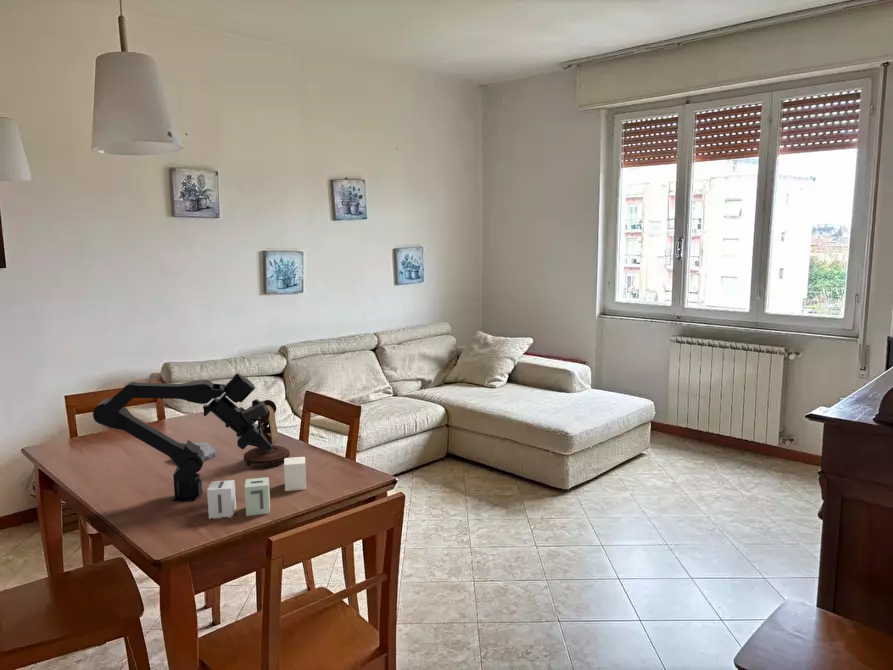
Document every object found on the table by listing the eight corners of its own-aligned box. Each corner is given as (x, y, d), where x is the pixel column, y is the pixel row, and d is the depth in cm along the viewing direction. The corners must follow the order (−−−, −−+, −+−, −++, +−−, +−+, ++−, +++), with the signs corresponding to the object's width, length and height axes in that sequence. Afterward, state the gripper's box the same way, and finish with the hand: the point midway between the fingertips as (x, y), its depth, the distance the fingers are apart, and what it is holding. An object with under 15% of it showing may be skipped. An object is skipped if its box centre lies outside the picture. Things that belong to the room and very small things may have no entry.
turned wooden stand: (281, 469, 205) (279, 408, 202) (236, 468, 206) (233, 407, 203) (295, 453, 220) (293, 397, 217) (253, 453, 221) (250, 396, 218)
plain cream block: (285, 491, 188) (284, 465, 186) (285, 483, 193) (284, 458, 192) (306, 489, 189) (305, 463, 188) (305, 481, 195) (305, 456, 194)
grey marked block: (208, 519, 169) (206, 489, 168) (213, 509, 175) (211, 480, 174) (232, 517, 170) (230, 488, 169) (236, 507, 176) (234, 479, 175)
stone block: (219, 461, 218) (202, 450, 224) (219, 449, 217) (203, 438, 222) (186, 473, 209) (170, 460, 215) (186, 459, 208) (170, 448, 213)
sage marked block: (246, 516, 171) (244, 487, 169) (247, 507, 177) (245, 478, 175) (269, 513, 172) (268, 484, 171) (269, 504, 178) (268, 476, 177)
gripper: (248, 401, 175) (291, 438, 179) (251, 386, 193) (290, 420, 197) (219, 431, 174) (262, 467, 179) (225, 413, 192) (264, 446, 196)
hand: (270, 448), depth 188 cm, fingers closed
